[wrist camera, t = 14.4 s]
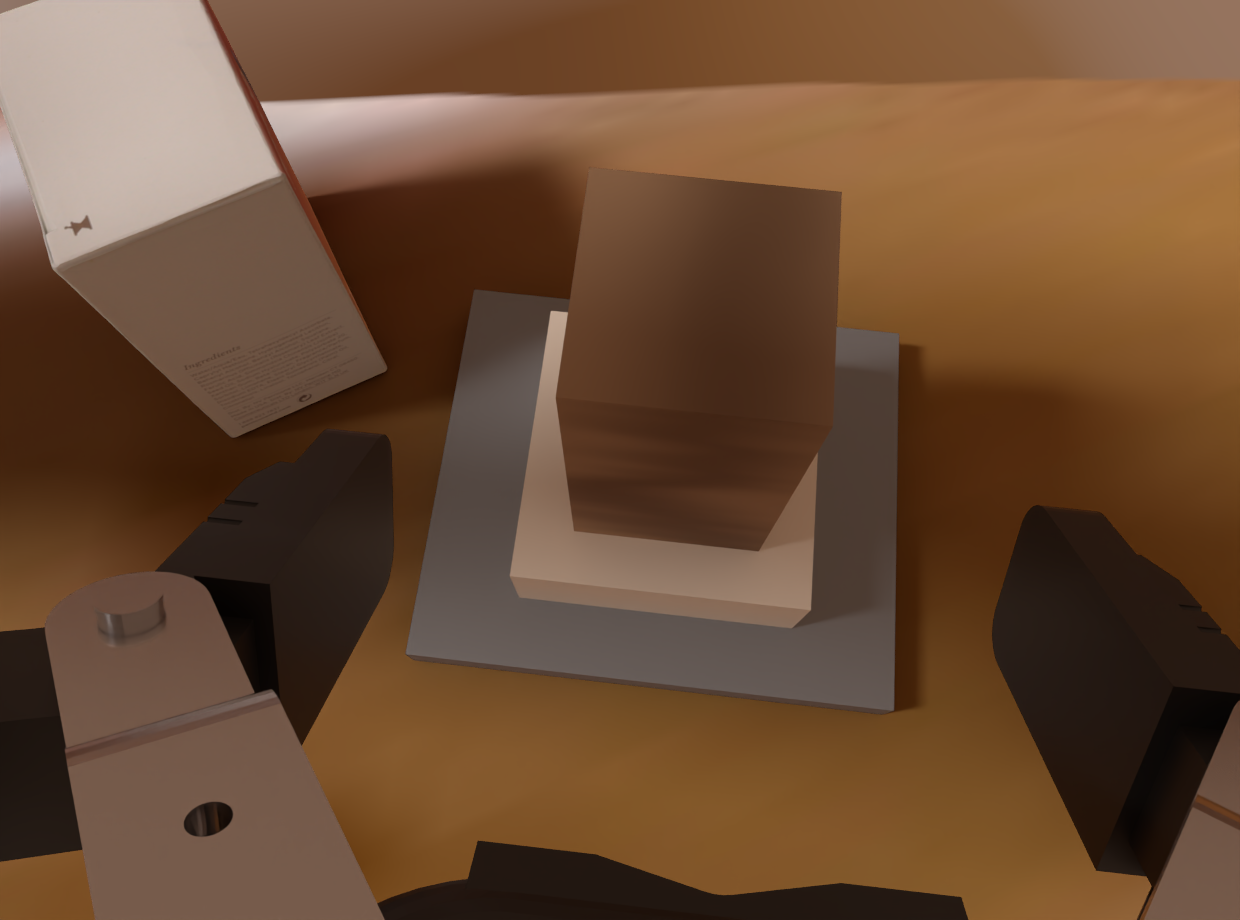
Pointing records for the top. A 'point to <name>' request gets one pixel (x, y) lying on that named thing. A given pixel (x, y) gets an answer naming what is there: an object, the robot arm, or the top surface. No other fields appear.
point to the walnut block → (697, 355)
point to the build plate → (641, 643)
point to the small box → (178, 205)
